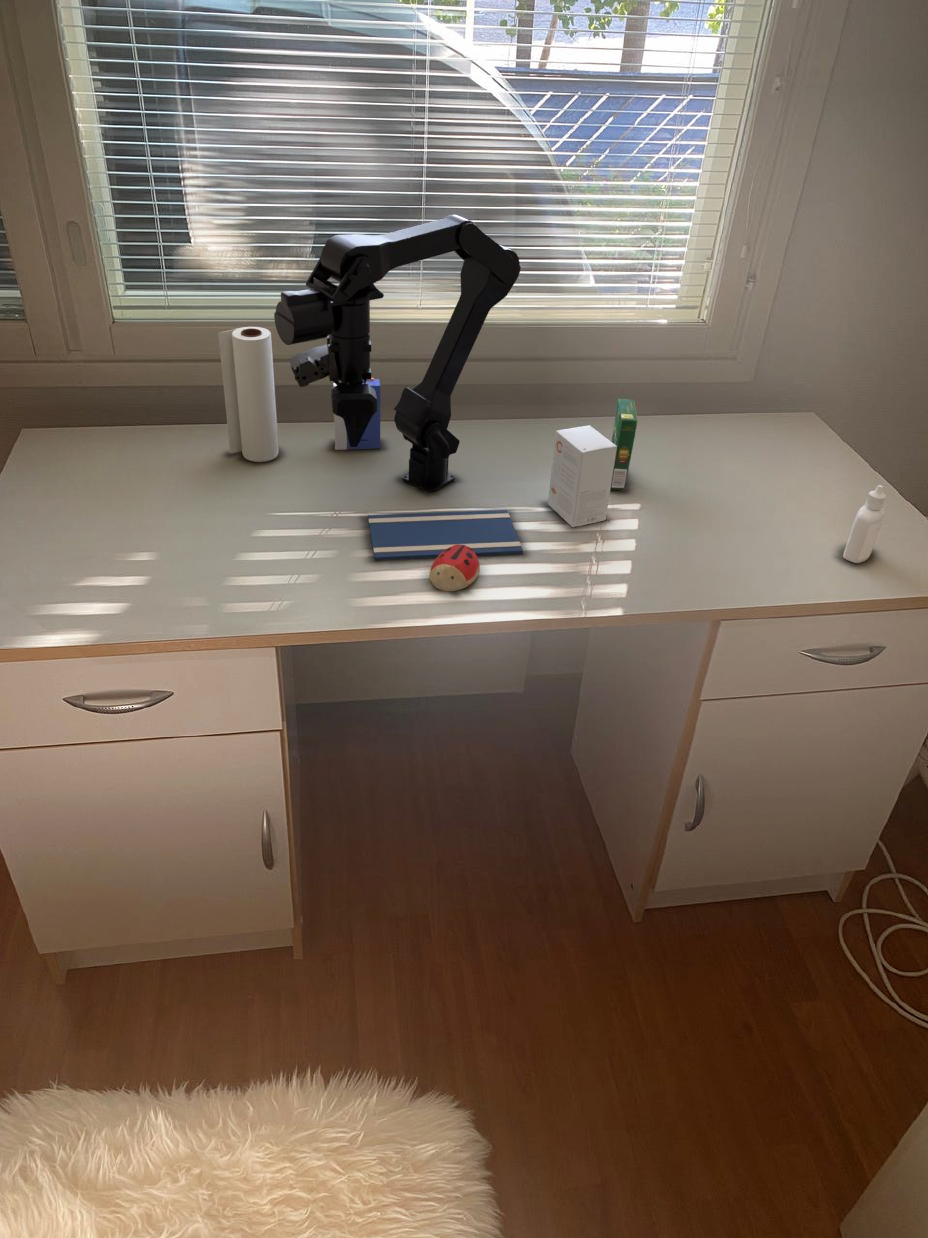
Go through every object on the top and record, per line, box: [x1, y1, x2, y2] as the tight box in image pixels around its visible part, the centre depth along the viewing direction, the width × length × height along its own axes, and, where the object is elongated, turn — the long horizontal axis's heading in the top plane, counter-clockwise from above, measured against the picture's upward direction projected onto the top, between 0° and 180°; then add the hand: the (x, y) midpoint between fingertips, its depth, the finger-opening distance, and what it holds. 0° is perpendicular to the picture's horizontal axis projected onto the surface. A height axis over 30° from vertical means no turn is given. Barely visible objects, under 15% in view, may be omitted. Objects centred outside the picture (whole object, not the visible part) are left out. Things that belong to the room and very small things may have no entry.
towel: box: [367, 509, 524, 562], centre depth 147 cm, size 22×12×1 cm, turn 100°
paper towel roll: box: [217, 326, 280, 463], centre depth 159 cm, size 7×6×21 cm
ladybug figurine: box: [429, 544, 481, 592], centre depth 138 cm, size 7×10×4 cm
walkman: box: [332, 377, 381, 451], centre depth 166 cm, size 8×3×12 cm, turn 99°
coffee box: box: [610, 398, 639, 492], centre depth 161 cm, size 8×3×13 cm, turn 176°
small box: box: [547, 425, 617, 528], centre depth 151 cm, size 8×6×13 cm
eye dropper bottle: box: [842, 484, 887, 564], centre depth 145 cm, size 4×6×12 cm
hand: (351, 432), depth 147 cm, fingers open, 9 cm apart
